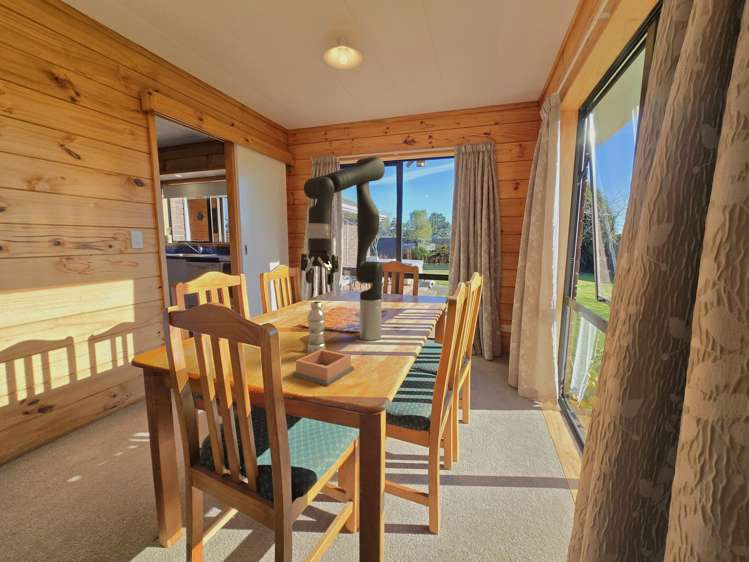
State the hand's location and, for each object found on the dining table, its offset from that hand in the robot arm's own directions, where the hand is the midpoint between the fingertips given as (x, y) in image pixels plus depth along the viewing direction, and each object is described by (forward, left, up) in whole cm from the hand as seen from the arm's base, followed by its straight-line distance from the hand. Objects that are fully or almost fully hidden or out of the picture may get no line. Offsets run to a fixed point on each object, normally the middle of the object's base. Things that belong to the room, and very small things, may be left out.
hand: (319, 283), depth 116 cm
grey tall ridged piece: (-1, -3, -28) cm, 28 cm away
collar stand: (+10, +9, -27) cm, 30 cm away
